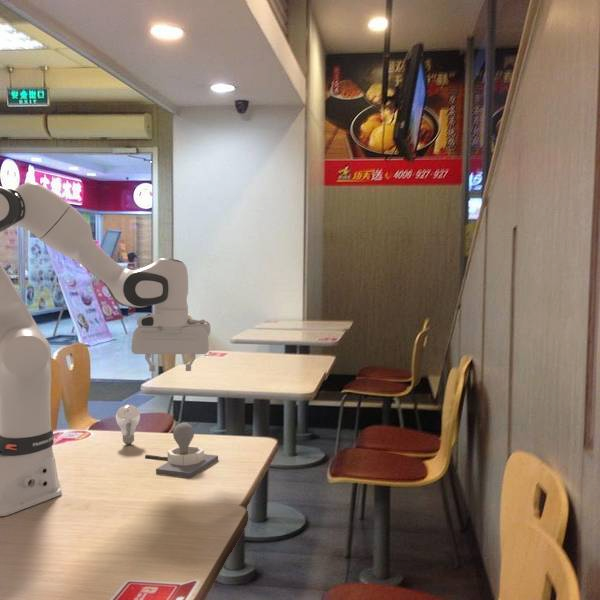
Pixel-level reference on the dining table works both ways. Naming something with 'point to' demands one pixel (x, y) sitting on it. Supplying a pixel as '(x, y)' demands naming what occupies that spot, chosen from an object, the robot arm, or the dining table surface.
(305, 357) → the dining table surface
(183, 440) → the light bulb
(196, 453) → the lamp base
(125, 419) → the light bulb
